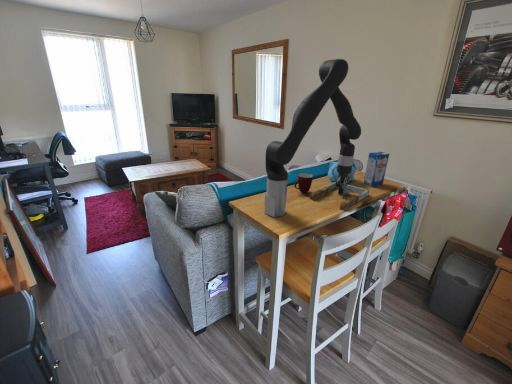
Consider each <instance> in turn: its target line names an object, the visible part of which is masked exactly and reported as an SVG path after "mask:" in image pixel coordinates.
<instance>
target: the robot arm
mask: <svg viewBox="0 0 512 384" xmlns="http://www.w3.org/2000/svg"><path fill="white" fill-rule="evenodd" d="M348 73H349V63H348V62H347V60H346V59H344V58H343V59H342V58H335V59H328V60H324V61H323V62H321V64H320V65H319V69H318V76H319V78H320V79H319V80H320V82H321V83H320V85H319V86H317V87H316V88H315V89H314V90H313V91H312V92H310V93H309V94H308V95H306V96H305V97H304V98H303V100H302V101H301V102H300V103H299V105H298V106H297V108H296V109H295V111H294V113H293V117H292V121H291V128H290V131H289V132H288V134H287V136H286V138H285V139H284V140H283V141H279V140H273V141H270V142H269V143H268V144H267V146H266V149H265V172H266V176H267V177H266V194H264V214H265V215H267V216H270V217H272V218H276V217H282V216H283V217H284V216H285V214H286V206H287V205H286V204H287V195H288V193H287V192H288V183H289V182H288V181H289V180H288V179H289V173H288V171H287V170H286V168H285V166H286V165H287V164H289V163H290V162H291V161H292V159H293V158H294V156H295V155H296V152H297V151H298V149H299V146H300V144H301V143H302V141H303V140H304V138H305V136H306V134H307V133H308V132H309V130H310V128H311V127H312V126H313V124H314V122H315V121H316V119H317V118H319V117H318V116H319V115H320V113H321V111H322V110H323V109H324V107H325V106H326V104H327V103H328V101H329V100H330V101H331V102H332V105H333V107H334V110H335V113H336V116H337V119H338V122H339V124H341V126H340V128H339V132H338V135H339V137H338V138H339V145H340V149H339V155H338V158H337V159H338V160H337V162H338V165H337V172H338V173H339V175H338V180H335V181H334V182H336V186H337V187H336V188H338V191H337V194H338V195H339V194H340V195H342V194H343V190H344V188H345V186H346V185H348V183H349V182H348V181H349V178H350V176H348V174H350V173H351V172H352V167H354V166H353V165H354V159H355V158H354V156H355V149H356V145H355V144H353V143H352V142H351V140H352V141H354V140H355V141H356V140H358V139H359V138H360V136H361V135H362V128H361V125H360V123H359V122H358V119H356V117H355V115H354V111H353V108H352V105H351V102H350V100H349V99H348V98H347V97H346V95H345V94H344V93H343V92H342V91H341V89H340V88H339V87H340V85H342V83H343V82H344V80H345V79H346V77H347V76H348ZM340 195H339V196H340Z"/></svg>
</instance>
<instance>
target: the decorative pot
mask: <svg viewBox="0 0 512 384" xmlns="http://www.w3.org/2000/svg"><path fill="white" fill-rule="evenodd" d="M337 165H338V161H330V163H329V166H328V167H329V170H328V172H327V178H328V179H329V180H330V181H331V182H335V180H338V175H339V173H338V172H337ZM355 173H356V168H355V167H354V166H352V172H351V173H350V174H348V176H350V178H349V181H348V183H349V182H351V181H354V180H355Z"/></svg>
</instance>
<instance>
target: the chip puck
mask: <svg viewBox="0 0 512 384" xmlns="http://www.w3.org/2000/svg"><path fill="white" fill-rule="evenodd" d="M350 192H351V191H350V188H347V187H345V188H344V190H343V194H342V195H340V194H338V195H339V196H341V197H349V196H350Z"/></svg>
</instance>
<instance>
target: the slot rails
mask: <svg viewBox="0 0 512 384" xmlns="http://www.w3.org/2000/svg"><path fill="white" fill-rule="evenodd" d="M329 191H330V190H329V188H328V187H325V186H324V187H323V188H321V189H318V190H316V191H314V192H312V193H310V197H309V200H312V201H315V200H317V199H319V198H320V197H323V196H325V195H327V194H328V193H329ZM357 200H358V195H356V194H354V195H353V196H350V197H349V198H348V199H346V200H344V201H342V202H340V205H339V210H342V211H344V210H346V209H348V208H350V207H351V206H352V205H354V204H356V203H357V202H358V201H357Z"/></svg>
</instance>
